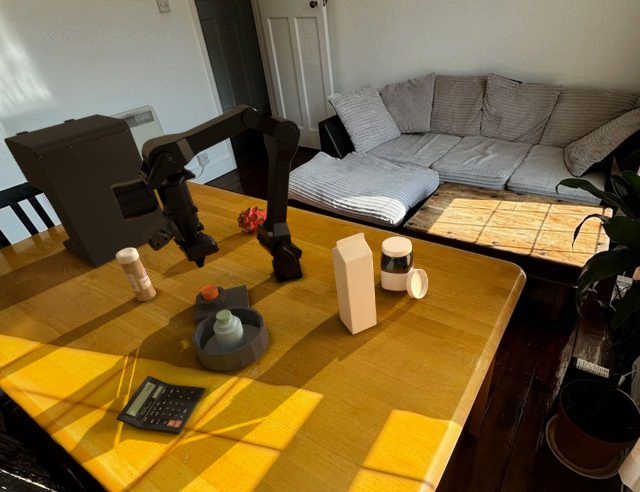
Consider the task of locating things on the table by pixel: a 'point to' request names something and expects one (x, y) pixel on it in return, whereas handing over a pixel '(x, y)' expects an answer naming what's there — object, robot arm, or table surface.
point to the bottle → (229, 331)
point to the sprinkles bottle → (136, 274)
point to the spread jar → (401, 268)
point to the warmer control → (221, 301)
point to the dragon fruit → (251, 219)
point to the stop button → (209, 292)
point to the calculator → (161, 406)
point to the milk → (355, 283)
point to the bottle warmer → (235, 358)
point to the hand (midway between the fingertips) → (200, 266)
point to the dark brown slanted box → (85, 181)
